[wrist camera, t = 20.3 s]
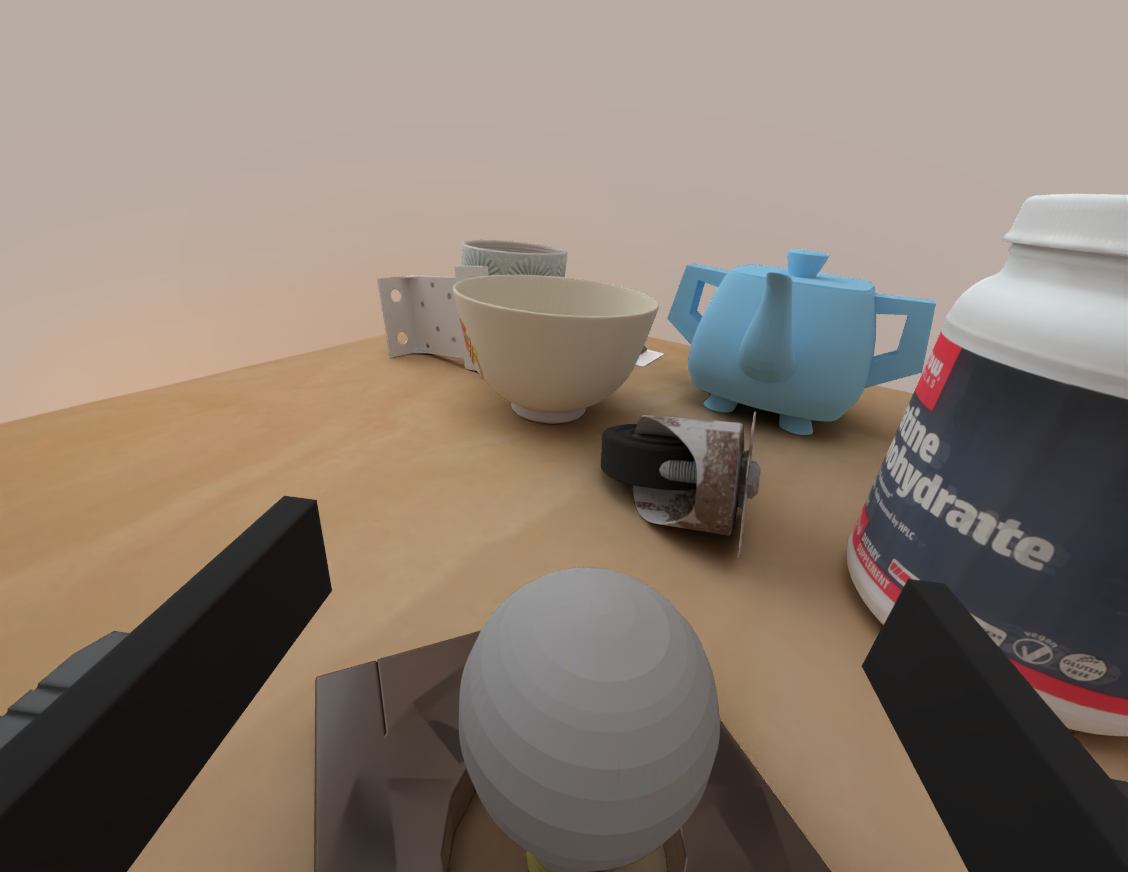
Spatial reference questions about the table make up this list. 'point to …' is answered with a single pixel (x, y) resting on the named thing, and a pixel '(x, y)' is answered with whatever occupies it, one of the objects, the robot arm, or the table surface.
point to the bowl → (552, 339)
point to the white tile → (647, 357)
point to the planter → (514, 258)
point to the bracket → (426, 314)
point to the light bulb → (588, 720)
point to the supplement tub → (1024, 462)
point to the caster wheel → (684, 470)
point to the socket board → (444, 788)
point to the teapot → (793, 338)
